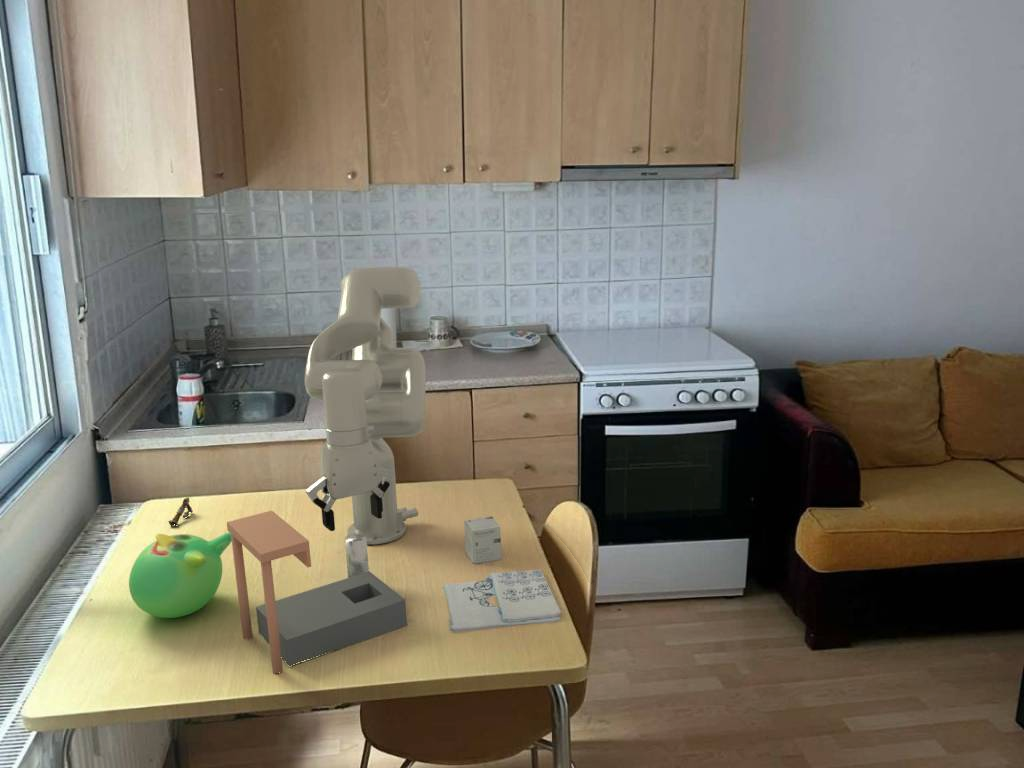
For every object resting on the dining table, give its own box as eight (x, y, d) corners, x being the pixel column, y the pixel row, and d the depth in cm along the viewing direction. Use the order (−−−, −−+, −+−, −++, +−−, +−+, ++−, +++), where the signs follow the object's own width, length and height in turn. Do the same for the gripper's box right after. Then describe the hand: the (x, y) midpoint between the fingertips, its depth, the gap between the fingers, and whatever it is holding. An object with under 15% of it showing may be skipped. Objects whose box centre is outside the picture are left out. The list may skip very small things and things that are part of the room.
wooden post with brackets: (196, 508, 221) (190, 495, 218) (181, 534, 215) (175, 521, 212) (189, 508, 222) (183, 495, 219) (174, 534, 216) (167, 520, 213)
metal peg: (364, 579, 186) (360, 531, 183) (373, 586, 183) (369, 538, 180) (345, 585, 184) (341, 537, 181) (354, 592, 180) (350, 544, 178)
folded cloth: (562, 623, 168) (562, 612, 167) (449, 636, 165) (448, 624, 165) (543, 575, 186) (543, 565, 186) (440, 586, 183) (439, 575, 183)
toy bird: (158, 587, 185) (148, 517, 181) (243, 585, 185) (235, 515, 181) (118, 634, 168) (107, 558, 164) (212, 633, 167) (203, 557, 163)
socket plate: (371, 595, 179) (369, 571, 178) (407, 625, 168) (405, 599, 167) (258, 632, 167) (255, 606, 166) (289, 667, 156) (286, 640, 155)
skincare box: (473, 564, 190) (471, 531, 188) (465, 552, 196) (463, 519, 194) (502, 559, 192) (500, 526, 190) (493, 547, 198) (491, 515, 196)
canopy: (283, 621, 171) (271, 510, 165) (320, 659, 158) (308, 540, 152) (240, 635, 166) (226, 522, 161) (274, 676, 154) (260, 554, 148)
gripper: (379, 422, 183) (385, 506, 187) (294, 440, 173) (302, 527, 177) (398, 431, 177) (403, 517, 181) (311, 449, 167) (319, 540, 171)
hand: (353, 522), depth 179 cm, fingers open, 9 cm apart
